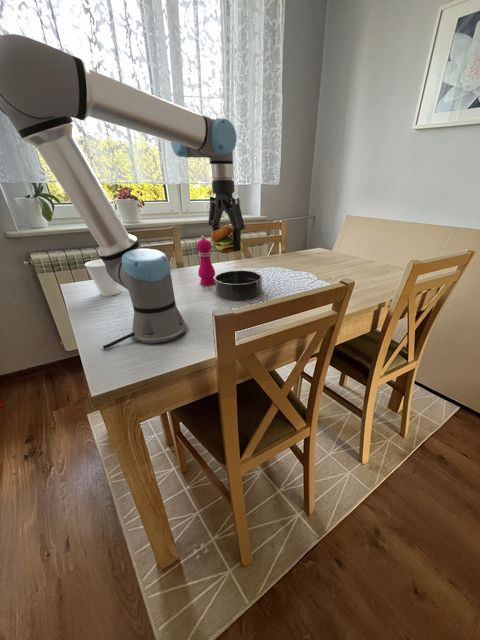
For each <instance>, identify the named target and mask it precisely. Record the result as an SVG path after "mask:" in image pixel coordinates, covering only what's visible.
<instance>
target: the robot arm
mask: <svg viewBox="0 0 480 640" xmlns="http://www.w3.org/2000/svg"><path fill="white" fill-rule="evenodd" d="M0 111H1V112H2V113H3V115H5V116H6V117H7V118H8V119H9V121H10V123H11V124H12V125H13V127H14V128H15V130H16V132H17V133H18V134H19V136H20V138H21V139H22V140H23V142H25V143H28V144H30V145H31V146H34V147H35V148H36V149H37V151H38V152H39V155H40V156H41V157H42V159H43V161H44V162H45V163H46V166H47V167H48V168H49V170H50V172H51V173H52V174H53V176H54V177H55V179H56V181H57V182H58V184H59V185H60V187H61V188H62V190H63V192H64V193H65V195H66V196H67V198H68V199H69V201H70V202H71V204H72V206H73V207H74V209H75V210H76V212H77V213H78V215H79V216H80V218H81V219H82V221H83V223H84V224H85V226H86V227H87V229H88V230H89V232H90V234H91V236H92V237H93V239H94V240H95V242H96V243H97V244H98V246H99V248H98V250H97V251H98V252H97V255H98V256H99V259H102V261H103V262H104V264H105V267H106V270H107V272H108V274H109V276H110V277H111V278H112V279H113V280H114V281H115V282H116V283H118V284H119V286H122V287H123V288H125V290H127V291H128V293H129V296H130V300H131V303H132V304H131V305H132V309H133V319H132V329H131V333H129V334H127V335H124V336H122V337H119V338H118V339H116V340H113V341H112V342H109V343H107V344H105V345H102V348H103V350H106V349H108V348H111V347H113V346H115V345H118V344H119V343H121V342H123V341H125V340H127V339H130V338H132V337H133V339H134V340H135V341H137V342H139V343H141V344H147V345H158V344H165V343H169V342H172V341H174V340H177V339H179V338H180V337H182V336H183V335H184V334H185V333H186V331H187V326H186V322H185V320H184V318H183V316H182V314H181V312H180V310H179V308H178V307H177V304H176V299H175V298H176V297H175V292H174V284H173V278H172V273H171V265H170V263H169V258H168V256H167V255H166V254H165V253H164V252H163V251H160V250H158V249H151V248H143V247H142V245H141V244H140V242H139V240H138V238H137V237H136V236H135V235H132V234H130V233H128V230H127V229H126V227H125V225H124V223H123V222H122V220H121V218H120V216H119V215H118V213H117V211H116V209H115V208H114V206H113V204H112V202H111V200H110V199H109V196H108V195H107V193H106V191H105V189H104V188H103V186H102V184H101V182H100V181H99V179H98V177H97V175H96V174H95V172H94V170H93V168H92V166H91V164H90V163H89V161H88V159H87V157H86V156H85V153H84V152H83V150H82V149H81V147H80V145H79V143H78V141H77V140H76V138H75V136H74V130H75V122H74V119H77V120H80V121H86V120H87V119H89V118H93V119H97V120H100V121H102V122H106V123H109V124H113V125H116V126H119V127H122V128H126V129H129V130H132V131H136V132H139V133H141V134H146V135H148V136H152V137H154V138H155V137H156V138H158V139H162V140H165V141H169V142H170V146H171V149H172V151H173V153H174V154H175V155H176V156H177V157H180V158H186V159H187V158H206V159H209V169H210V171H209V172H210V179H212V180H211V190H212V191H211V192H212V194H215V195H214V196H213V195H212V196H209V211H208V226H211V228H212V232H213V231H215V230H218V229H220V228H221V225H220V223H221V220H222V215H223V213H224V212H225V213H226V214H227V216H228V219H229V222H230V224H231V227H233V229H234V230H233V231H232V233H231V234H232V235H233V236H232V238H233V250H234V251H237V252H240V251H239V250H241V245H240V241H241V240H242V233H241V231H243V230H245V229H246V227H245V226H246V225H245V222H244V217H243V215H242V210H241V205H240V198H239V197H234V195H233V194H234V193H235V191H236V190H235V181H234V180H233V179H234V178H235V176H234V175H235V174H234V173H235V172H234V152H233V151H234V150H235V148H236V146H237V131H236V128H235V126H234V124H233V122H231V121H230V120H229V119H226V118H220V117H218V118H215V119H214V118H211V117H209V116H206V115H204V114H201V113H198V112H195V111H193V110H190V109H189V108H186V107H183V106H182V105H181V106H180V105H178V104H176V103H173V102H171V101H169V100H166V99H163V98H161V97H158V96H156V95H154V94H151V93H149V92H146V91H144V90H141V89H139V88H136V87H135V86H134V87H133V86H131V85H129V84H126V83H123V82H121V81H119V80H117V79H114V78H112V77H109V76H106V75H104V74H102V73H99V72H97V71H94V70H93V69H92V70H91V69H89V68H88V66H87V65H86V64H85V62H84V60H83V59H82V58H80V57H78V56H75V55H72V54H70V53H67V52H65V51H63V50H60V49H58V48H56V47H53V46H51V45H48V44H46V43H43V42H41V41H39V40H36V39H33V38H30V37H29V36H24V35H20V34H15V33H10V34H0ZM73 118H74V119H73ZM213 242H214V247H216V244H215V241H213ZM241 242H242V241H241Z"/></svg>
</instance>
